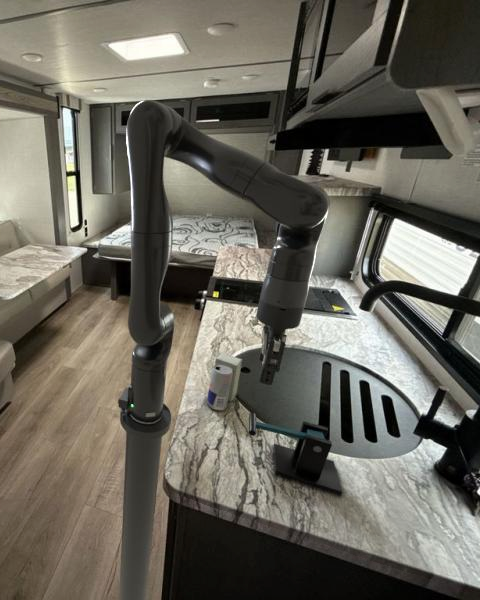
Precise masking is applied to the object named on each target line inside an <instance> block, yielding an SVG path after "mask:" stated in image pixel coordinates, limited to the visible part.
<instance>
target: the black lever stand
mask: <svg viewBox="0 0 480 600" xmlns="http://www.w3.org/2000/svg"><path fill="white" fill-rule="evenodd" d="M307 429H309V430H314V431H318V432H322V433H323V435H324V439H322V438H319V437H315V436H311V435H308V434H306V436H305V439H304V440H303V439H299V438H297V439H296V443H295V447H294V448H290V447H287V446H284V445H280V444H277V443H273V447H272V449H273V462H274V475H275V476H278V477H282V478H284V479H287V480H290V481H293V482H296V483H298V484H303V485H306V486H308V487H311V488H315V489H318V490H321V491H324V492H327V493H330V494H333V495H336V496H340V497H341V496H342V495H343V488H342V485H341V481H340V479H339V475H338V472H337V468H336V465H335V461H334V460H331V459H328V457H329V455H330V451H331V448H332V446H333V443H332V440H329V439H326V436H327V435H328V430H329V429H328V427H327V426H324V425H320V424H316V423H313V422H309V421H305V420H303V421H302V424H301V428H300V431H299V432H304V433H307Z"/></svg>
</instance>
